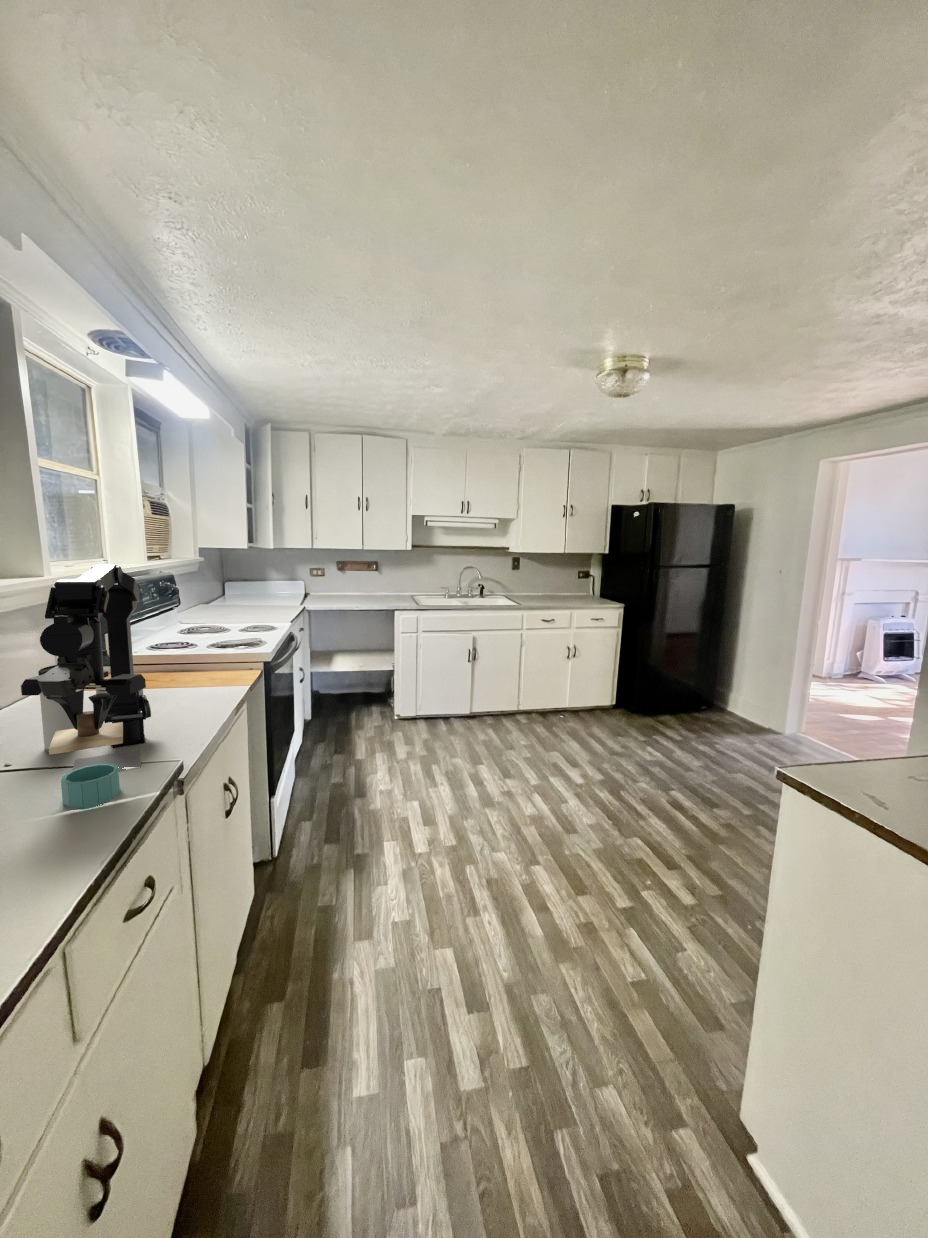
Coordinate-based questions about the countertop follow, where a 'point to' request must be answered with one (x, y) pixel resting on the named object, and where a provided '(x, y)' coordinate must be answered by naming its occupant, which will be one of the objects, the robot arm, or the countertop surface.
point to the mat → (112, 760)
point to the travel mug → (52, 716)
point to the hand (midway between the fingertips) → (88, 729)
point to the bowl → (90, 785)
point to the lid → (86, 735)
